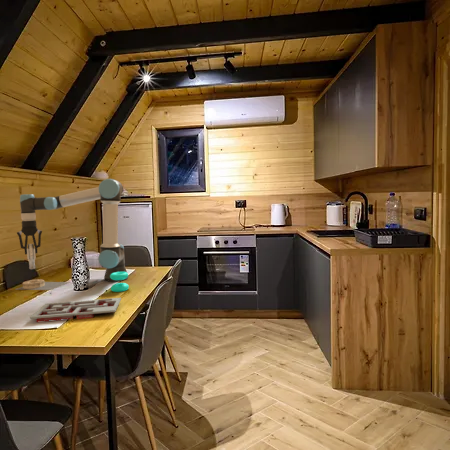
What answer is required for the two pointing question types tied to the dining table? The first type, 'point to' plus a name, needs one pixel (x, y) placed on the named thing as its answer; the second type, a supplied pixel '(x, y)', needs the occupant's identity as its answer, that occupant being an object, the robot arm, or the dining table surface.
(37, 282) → the tan faceted ring
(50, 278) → the dining table surface
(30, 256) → the peg
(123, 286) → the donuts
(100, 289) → the dining table surface
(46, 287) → the board
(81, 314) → the maze game
